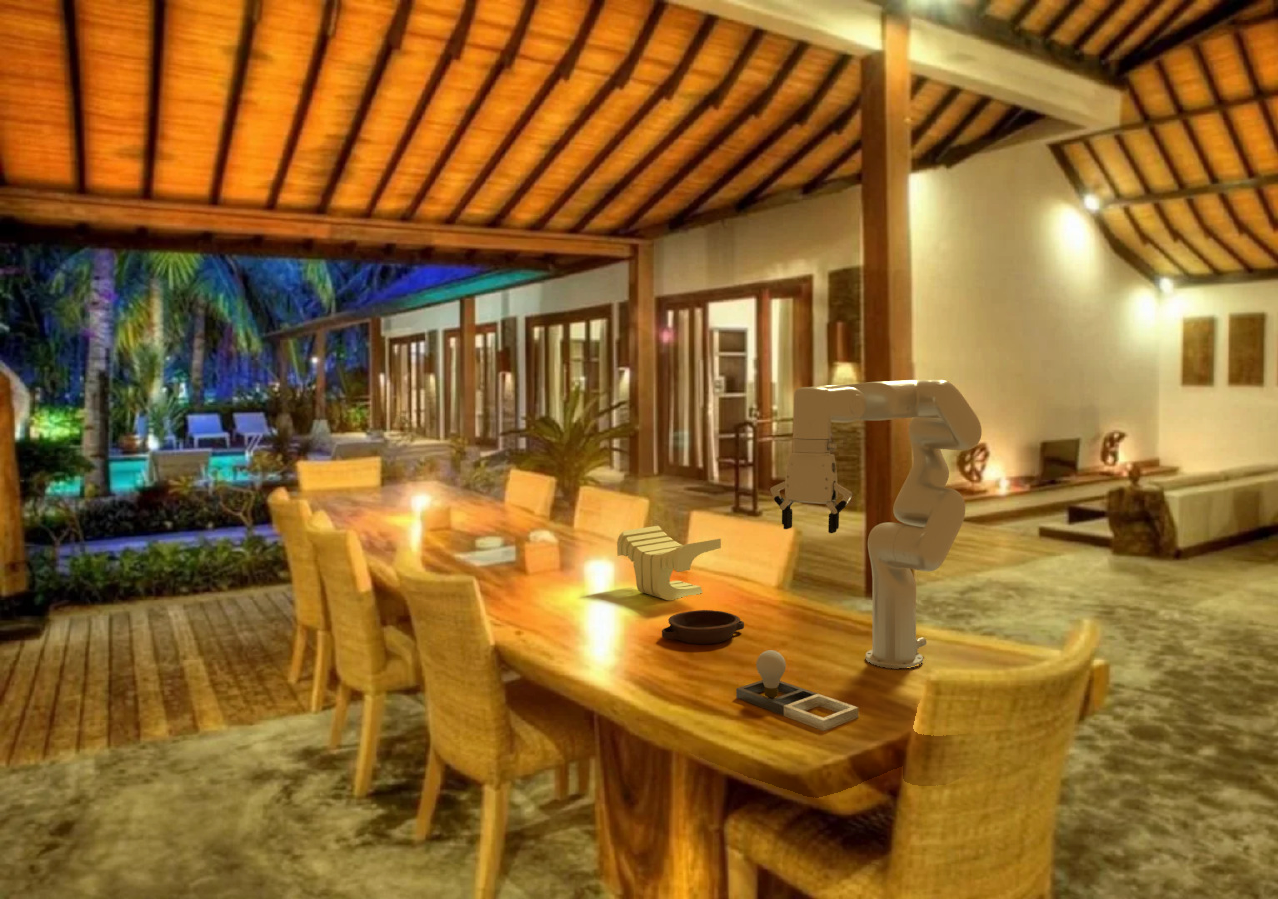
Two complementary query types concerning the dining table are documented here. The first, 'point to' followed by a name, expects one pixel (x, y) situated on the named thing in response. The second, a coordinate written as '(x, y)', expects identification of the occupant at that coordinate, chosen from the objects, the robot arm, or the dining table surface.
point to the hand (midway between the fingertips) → (809, 530)
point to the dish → (702, 626)
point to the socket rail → (799, 704)
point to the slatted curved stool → (661, 560)
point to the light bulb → (771, 671)
